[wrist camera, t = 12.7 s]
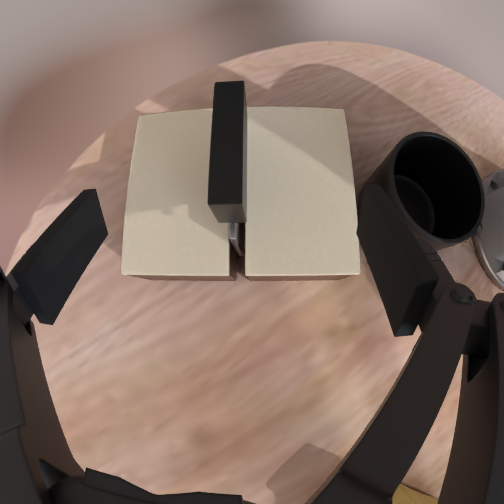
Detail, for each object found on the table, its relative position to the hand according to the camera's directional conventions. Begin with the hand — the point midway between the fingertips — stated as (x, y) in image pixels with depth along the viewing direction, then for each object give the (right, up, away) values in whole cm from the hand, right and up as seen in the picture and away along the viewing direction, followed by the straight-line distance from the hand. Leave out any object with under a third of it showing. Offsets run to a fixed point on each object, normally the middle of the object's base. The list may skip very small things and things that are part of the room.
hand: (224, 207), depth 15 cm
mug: (+17, +1, +15) cm, 23 cm away
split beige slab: (0, +2, +16) cm, 16 cm away
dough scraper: (0, +3, +14) cm, 14 cm away
